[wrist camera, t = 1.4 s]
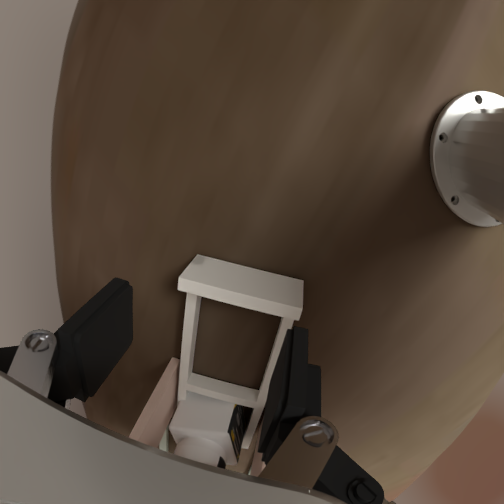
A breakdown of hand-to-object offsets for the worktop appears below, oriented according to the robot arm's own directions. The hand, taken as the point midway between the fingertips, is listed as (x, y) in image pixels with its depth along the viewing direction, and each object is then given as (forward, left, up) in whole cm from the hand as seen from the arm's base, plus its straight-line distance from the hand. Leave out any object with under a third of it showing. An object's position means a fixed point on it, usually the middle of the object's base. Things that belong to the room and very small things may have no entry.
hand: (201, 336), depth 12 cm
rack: (0, +18, -18) cm, 25 cm away
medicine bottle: (0, +26, -18) cm, 32 cm away
